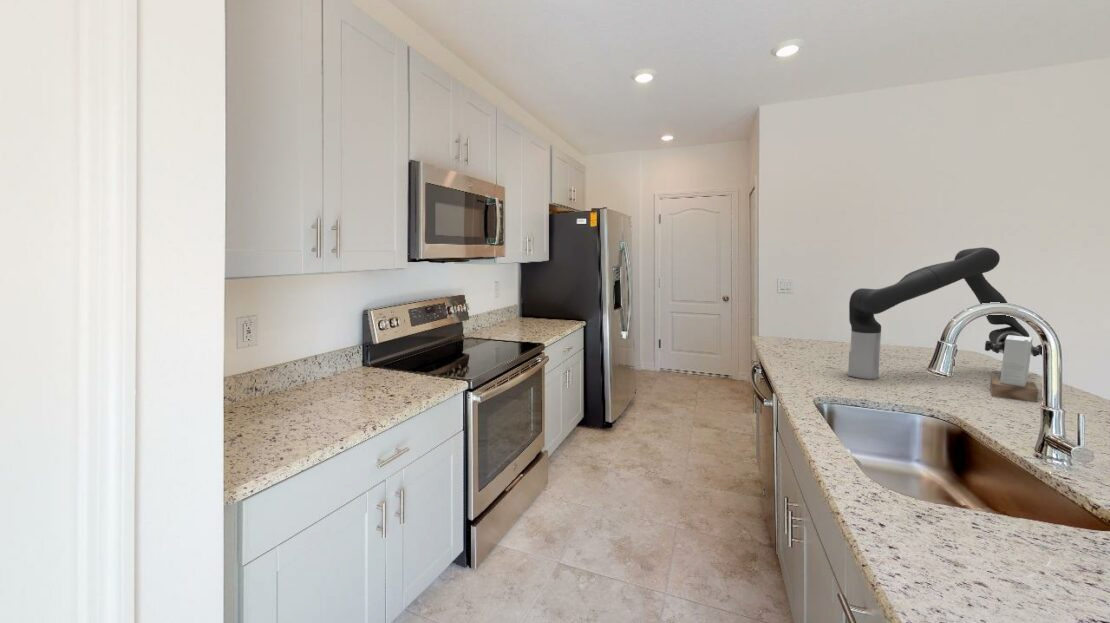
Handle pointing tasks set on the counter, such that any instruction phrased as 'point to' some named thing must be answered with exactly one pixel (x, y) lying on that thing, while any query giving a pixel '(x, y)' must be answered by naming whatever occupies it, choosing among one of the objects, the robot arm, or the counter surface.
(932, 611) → the counter surface
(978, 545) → the counter surface
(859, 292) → the robot arm
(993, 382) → the walnut base
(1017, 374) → the skincare box
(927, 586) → the counter surface
